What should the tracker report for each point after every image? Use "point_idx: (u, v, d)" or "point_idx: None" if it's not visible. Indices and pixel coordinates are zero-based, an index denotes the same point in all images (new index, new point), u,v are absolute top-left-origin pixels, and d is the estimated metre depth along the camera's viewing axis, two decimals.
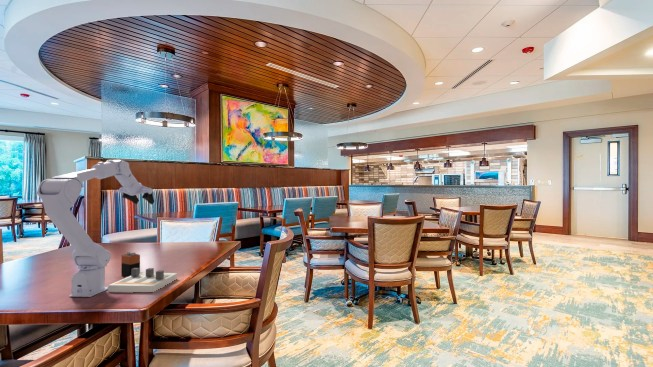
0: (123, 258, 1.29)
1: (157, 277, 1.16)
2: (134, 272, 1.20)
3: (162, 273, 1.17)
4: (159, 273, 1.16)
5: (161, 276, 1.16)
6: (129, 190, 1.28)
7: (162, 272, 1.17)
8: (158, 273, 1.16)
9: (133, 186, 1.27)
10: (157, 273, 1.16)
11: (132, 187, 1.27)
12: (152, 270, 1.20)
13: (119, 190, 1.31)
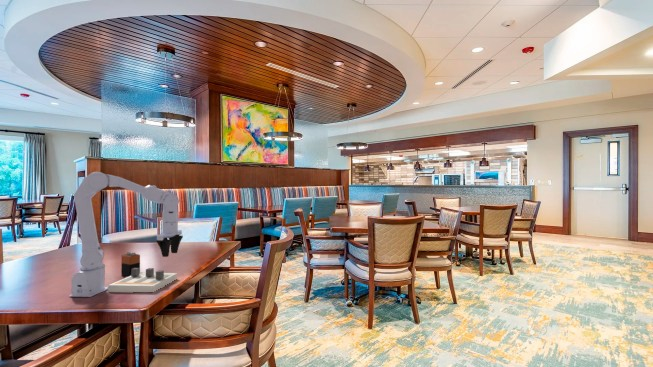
0: (123, 258, 1.29)
1: (157, 277, 1.16)
2: (134, 272, 1.20)
3: (162, 273, 1.17)
4: (159, 273, 1.16)
5: (161, 276, 1.16)
6: None
7: (162, 272, 1.17)
8: (158, 273, 1.16)
9: (163, 224, 1.22)
10: (157, 273, 1.16)
11: (162, 225, 1.22)
12: (152, 270, 1.20)
13: None
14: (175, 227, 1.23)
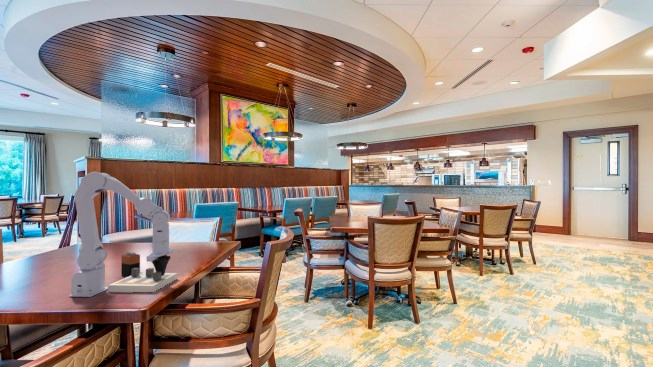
0: (123, 258, 1.29)
1: (155, 278, 1.14)
2: (134, 272, 1.20)
3: (160, 274, 1.16)
4: (157, 274, 1.14)
5: (159, 277, 1.15)
6: None
7: (160, 273, 1.16)
8: (156, 274, 1.14)
9: (153, 244, 1.15)
10: (155, 274, 1.15)
11: None
12: (152, 270, 1.20)
13: None
14: (166, 246, 1.17)
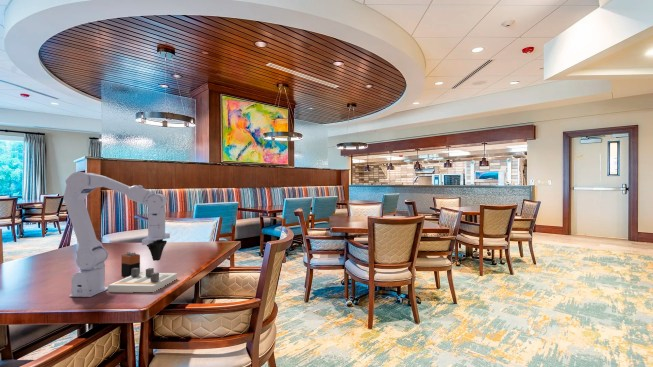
0: (123, 258, 1.29)
1: (152, 279, 1.13)
2: (134, 272, 1.20)
3: (157, 275, 1.14)
4: (154, 275, 1.13)
5: (156, 278, 1.13)
6: None
7: (158, 274, 1.14)
8: (153, 275, 1.13)
9: (148, 227, 1.13)
10: (152, 275, 1.13)
11: (148, 228, 1.13)
12: (152, 270, 1.20)
13: (164, 233, 1.22)
14: (162, 230, 1.14)
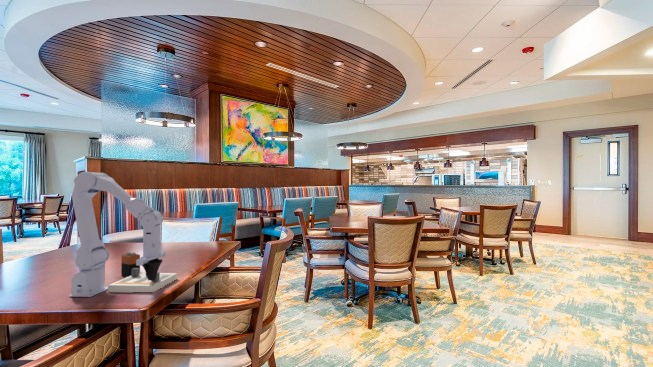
0: (123, 258, 1.29)
1: None
2: (134, 272, 1.20)
3: (158, 275, 1.14)
4: None
5: (157, 278, 1.14)
6: None
7: (158, 274, 1.15)
8: None
9: (143, 247, 1.10)
10: None
11: (143, 247, 1.10)
12: None
13: None
14: (157, 249, 1.11)
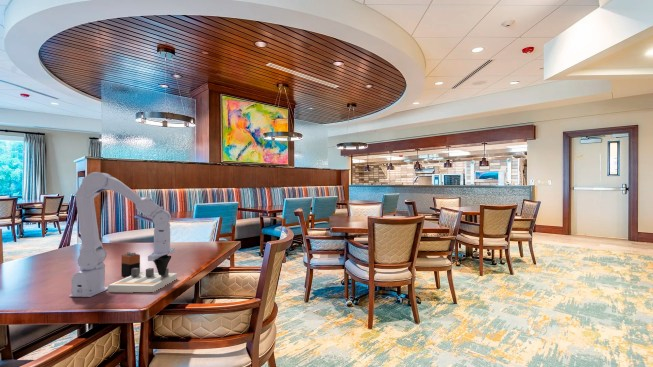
0: (123, 258, 1.29)
1: (162, 275, 1.19)
2: (134, 272, 1.20)
3: (167, 271, 1.20)
4: None
5: (166, 274, 1.20)
6: None
7: (167, 270, 1.21)
8: None
9: (154, 243, 1.16)
10: None
11: (154, 244, 1.17)
12: (152, 270, 1.20)
13: (169, 248, 1.25)
14: (167, 246, 1.18)
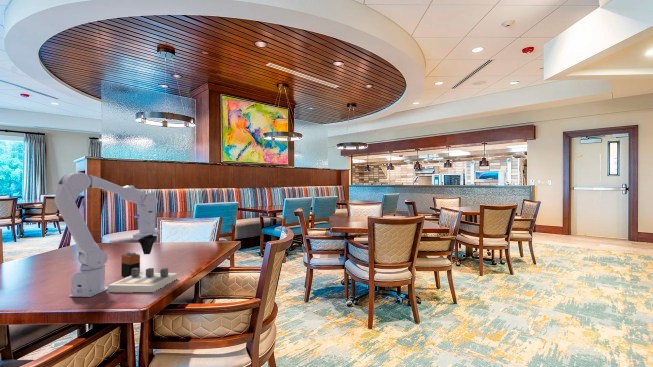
0: (123, 258, 1.29)
1: (162, 275, 1.19)
2: (134, 272, 1.20)
3: (167, 271, 1.20)
4: (164, 271, 1.19)
5: (166, 274, 1.20)
6: None
7: (167, 270, 1.20)
8: (163, 271, 1.19)
9: (139, 224, 1.23)
10: (162, 271, 1.19)
11: (139, 224, 1.24)
12: (152, 270, 1.20)
13: None
14: (152, 227, 1.25)
